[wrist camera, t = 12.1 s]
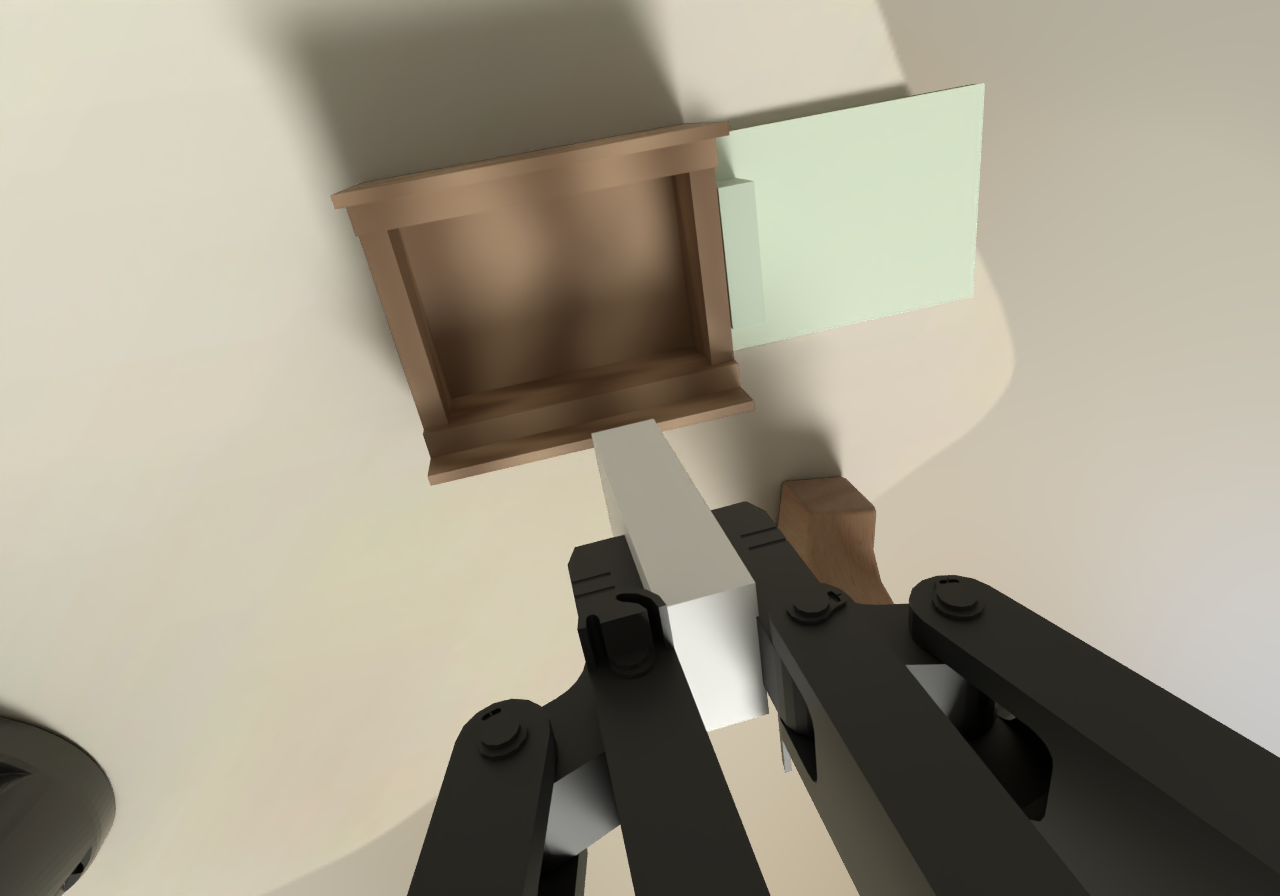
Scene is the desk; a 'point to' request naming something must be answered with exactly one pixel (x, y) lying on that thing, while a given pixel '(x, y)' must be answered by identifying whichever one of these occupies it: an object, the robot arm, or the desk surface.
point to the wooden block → (834, 535)
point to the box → (555, 294)
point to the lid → (850, 214)
